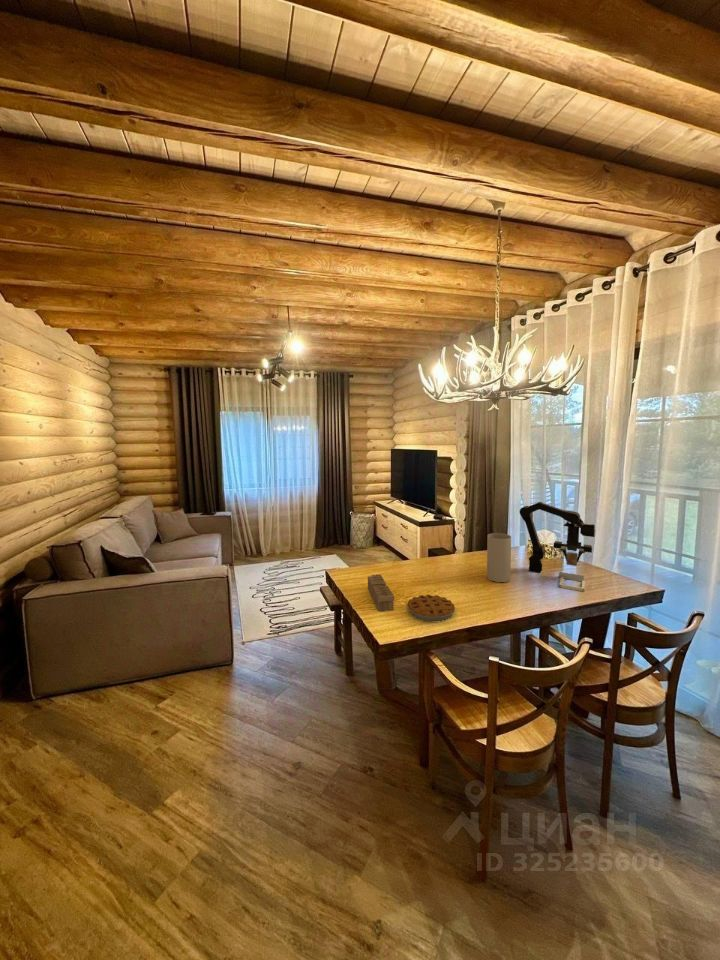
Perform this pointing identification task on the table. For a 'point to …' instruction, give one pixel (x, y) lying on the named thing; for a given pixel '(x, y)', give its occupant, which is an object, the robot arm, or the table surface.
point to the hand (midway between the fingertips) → (571, 561)
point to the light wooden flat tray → (571, 586)
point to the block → (571, 558)
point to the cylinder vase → (498, 557)
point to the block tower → (380, 593)
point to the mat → (572, 577)
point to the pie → (431, 608)
